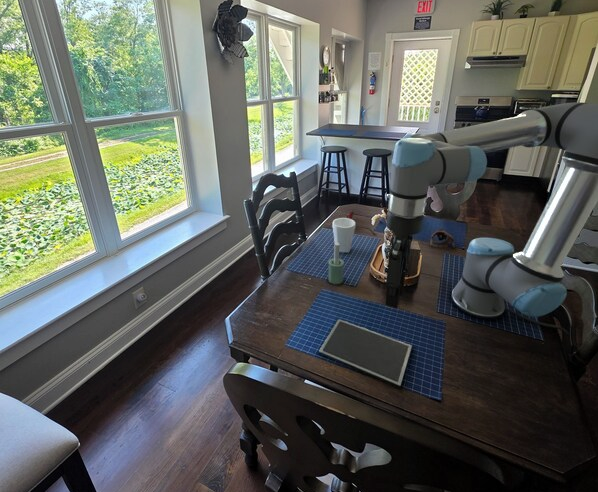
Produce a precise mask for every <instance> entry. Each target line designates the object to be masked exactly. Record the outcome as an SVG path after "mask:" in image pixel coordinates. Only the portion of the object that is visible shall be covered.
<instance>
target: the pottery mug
mask: <svg viewBox="0 0 598 492" xmlns="http://www.w3.org/2000/svg"><path fill="white" fill-rule="evenodd" d="M435 236H436V237H437V241H436V240H434V238H435ZM429 244H430V247H434V248H437V249H439V248H448V244H449V245H451V246H452V248H453V249H455V242H454V238H453V236H452V235H451V234H450V233H448V232H447V231H445V230H443V228H438V229H437V230H436V231H434V232H433V233H432V235H430V243H429Z"/></svg>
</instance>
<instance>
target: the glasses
mask: <svg viewBox="0 0 598 492" xmlns="http://www.w3.org/2000/svg"><path fill="white" fill-rule="evenodd" d="M354 215H355V216H360V217H366V218H371V219H373V218H372V217H373V216H369V215H364V214H359V213H354V211H350V212H349V214H348V215H346V217H345V218H348V219H352V220H353V217H354ZM378 220H379V221H378V222H379V223H380V224H383V222H382V221H381V220H380V219H378ZM356 227H357V228H360V229H361V228H362V229H366V230H369V231H370V232H371V233H372V234H373V235H374V236H375V235H376V233H375V232H374V231H373V230H371V229H370V228H369V227H365V226H361V225H355V228H356Z"/></svg>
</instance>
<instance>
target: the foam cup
mask: <svg viewBox="0 0 598 492" xmlns="http://www.w3.org/2000/svg"><path fill="white" fill-rule="evenodd" d="M331 226H332V231H333V240H334V241H333V242H334V244H335V243H339V244H340V245H339V253H344V254H345V253H350V252H351V248H352V244H353V238H354V233H355V230H356V221H355V220H353V218H352V219H350V218H349V217H348V218H346V217H337V218H335V219H333V220H332V225H331Z"/></svg>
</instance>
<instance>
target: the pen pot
mask: <svg viewBox="0 0 598 492" xmlns="http://www.w3.org/2000/svg"><path fill="white" fill-rule="evenodd" d="M344 270H345V261H344V260H343V259H342V258H339V265H334V257H332V258H330V259H329V260H328V273H327V279H328V282H329V283H331V284H333V285H340V284H342V283H343V282H344V274H345V271H344Z"/></svg>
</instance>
